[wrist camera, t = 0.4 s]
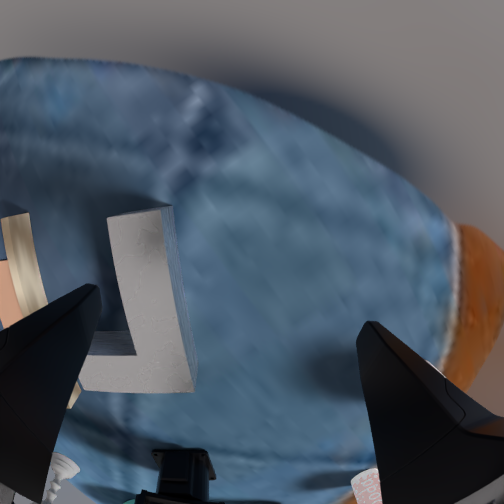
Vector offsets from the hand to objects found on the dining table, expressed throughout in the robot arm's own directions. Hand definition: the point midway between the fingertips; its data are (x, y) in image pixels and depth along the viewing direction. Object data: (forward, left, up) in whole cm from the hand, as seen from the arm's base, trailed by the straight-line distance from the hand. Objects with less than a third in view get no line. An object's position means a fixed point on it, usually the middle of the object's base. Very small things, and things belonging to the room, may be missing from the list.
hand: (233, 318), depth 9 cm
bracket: (-3, +9, -12) cm, 15 cm away
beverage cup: (-37, -16, -12) cm, 42 cm away
